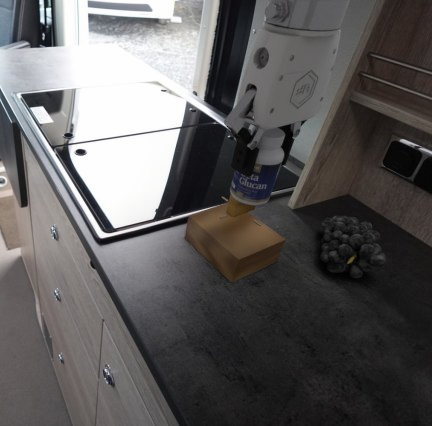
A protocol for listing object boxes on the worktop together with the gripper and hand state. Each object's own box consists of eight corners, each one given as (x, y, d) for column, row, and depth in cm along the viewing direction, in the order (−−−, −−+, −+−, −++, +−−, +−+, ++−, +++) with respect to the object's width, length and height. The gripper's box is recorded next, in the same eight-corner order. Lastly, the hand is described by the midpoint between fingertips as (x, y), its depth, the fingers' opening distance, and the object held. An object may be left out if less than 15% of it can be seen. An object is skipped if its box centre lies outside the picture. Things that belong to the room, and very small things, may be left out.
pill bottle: (229, 203, 51) (246, 137, 45) (229, 182, 55) (244, 120, 49) (271, 209, 50) (294, 143, 44) (267, 188, 54) (288, 124, 48)
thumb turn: (247, 204, 66) (254, 181, 64) (254, 209, 65) (261, 186, 62) (225, 211, 64) (231, 188, 62) (233, 217, 63) (239, 194, 60)
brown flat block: (291, 255, 63) (301, 232, 60) (231, 282, 58) (239, 258, 55) (234, 212, 73) (240, 190, 70) (178, 232, 67) (182, 209, 64)
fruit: (337, 185, 65) (354, 236, 53) (381, 206, 64) (408, 263, 53) (304, 219, 70) (313, 273, 58) (344, 240, 70) (361, 298, 58)
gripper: (274, 27, 33) (229, 197, 44) (387, 15, 39) (324, 165, 50) (216, 12, 38) (189, 168, 49) (325, 4, 45) (280, 142, 56)
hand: (258, 165), depth 49 cm, fingers closed on pill bottle, 5 cm apart
